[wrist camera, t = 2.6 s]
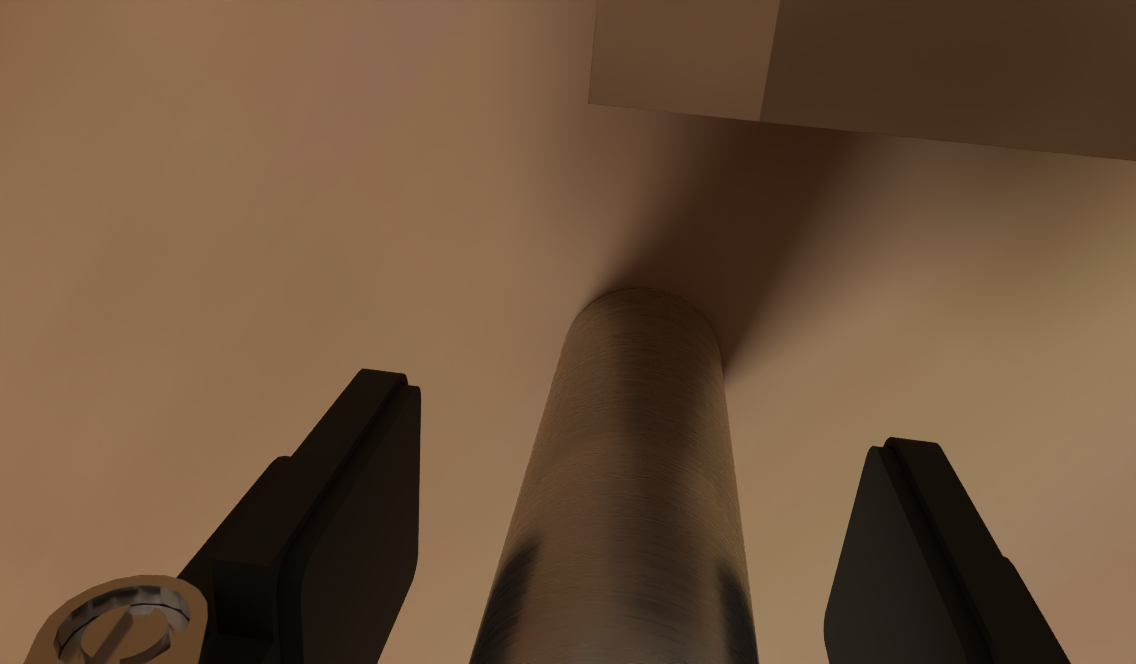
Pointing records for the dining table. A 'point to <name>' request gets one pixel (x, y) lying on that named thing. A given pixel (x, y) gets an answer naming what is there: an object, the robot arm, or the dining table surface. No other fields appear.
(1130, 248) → the dining table surface
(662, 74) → the walnut block
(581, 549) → the steel pin
